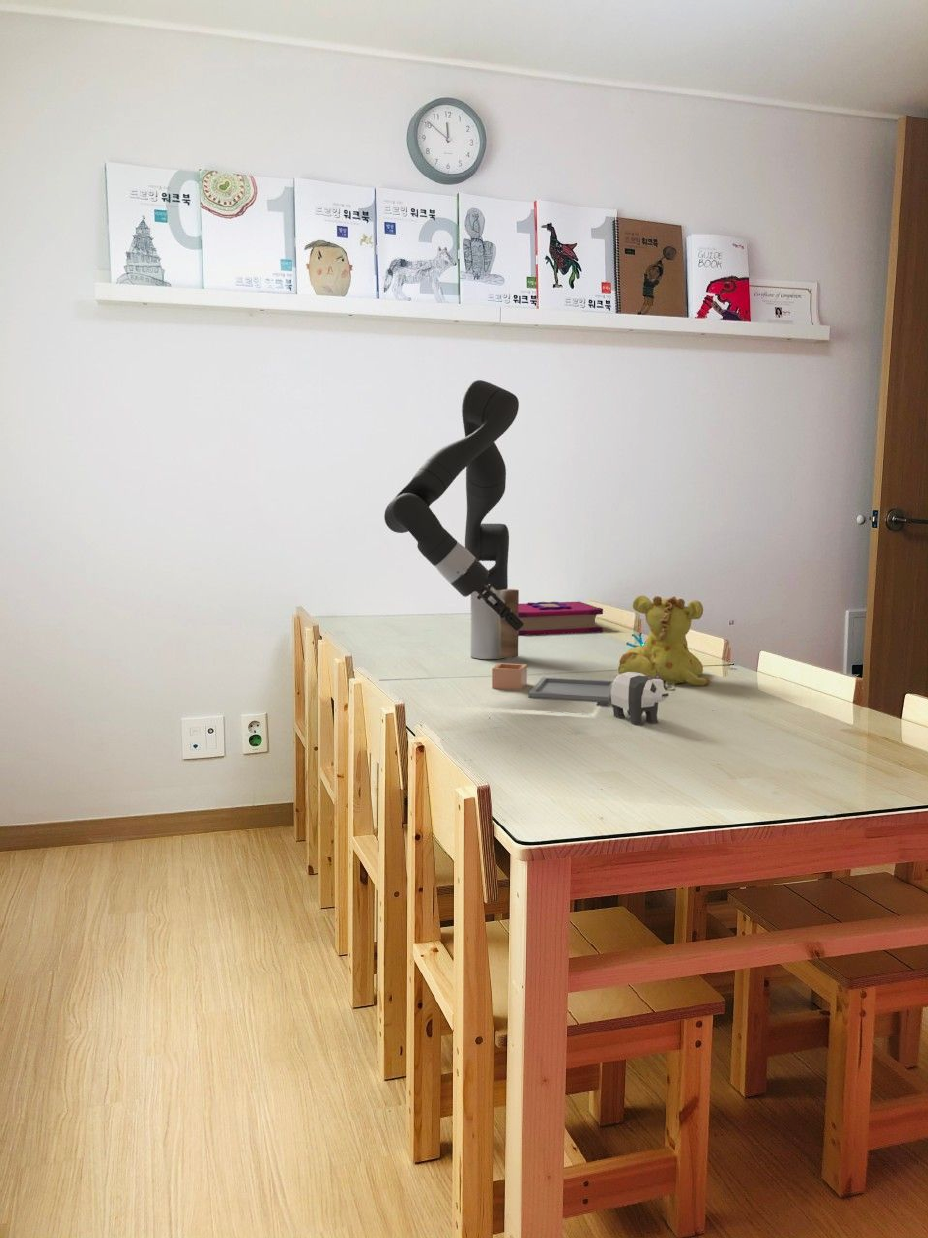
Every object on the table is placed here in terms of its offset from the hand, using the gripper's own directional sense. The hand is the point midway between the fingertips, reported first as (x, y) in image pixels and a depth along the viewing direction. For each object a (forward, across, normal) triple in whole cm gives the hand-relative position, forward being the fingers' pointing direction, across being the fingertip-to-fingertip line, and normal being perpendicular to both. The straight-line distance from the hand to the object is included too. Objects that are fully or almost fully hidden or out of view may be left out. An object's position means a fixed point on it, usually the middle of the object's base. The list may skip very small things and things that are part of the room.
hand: (518, 625), depth 214 cm
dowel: (+3, 0, -6) cm, 7 cm away
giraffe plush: (+35, -9, +14) cm, 38 cm away
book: (+26, -84, +4) cm, 88 cm away
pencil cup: (+9, 0, -11) cm, 14 cm away
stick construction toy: (+37, -32, +16) cm, 51 cm away
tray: (+17, +6, -2) cm, 19 cm away
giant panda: (+23, +29, +3) cm, 37 cm away
